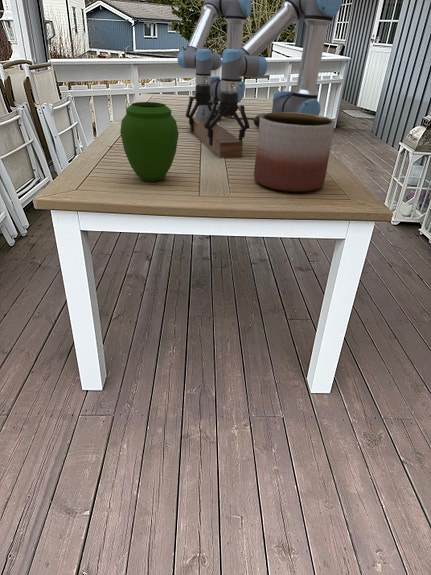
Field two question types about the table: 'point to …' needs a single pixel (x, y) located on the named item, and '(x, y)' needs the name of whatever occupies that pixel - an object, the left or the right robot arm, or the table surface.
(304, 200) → the table surface
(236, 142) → the narrow beam
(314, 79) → the right robot arm
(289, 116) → the planter
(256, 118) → the seashell
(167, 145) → the vase
